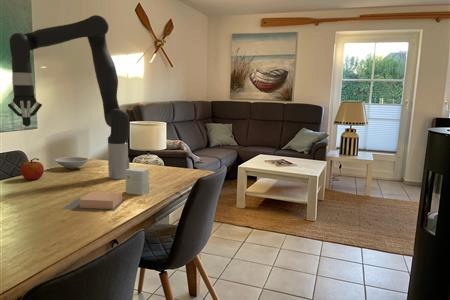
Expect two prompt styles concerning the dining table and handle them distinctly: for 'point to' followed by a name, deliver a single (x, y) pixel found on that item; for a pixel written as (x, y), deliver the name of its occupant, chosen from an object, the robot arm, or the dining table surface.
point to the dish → (72, 161)
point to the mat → (76, 206)
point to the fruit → (32, 170)
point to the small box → (137, 181)
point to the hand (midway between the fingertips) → (27, 126)
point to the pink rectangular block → (100, 200)
